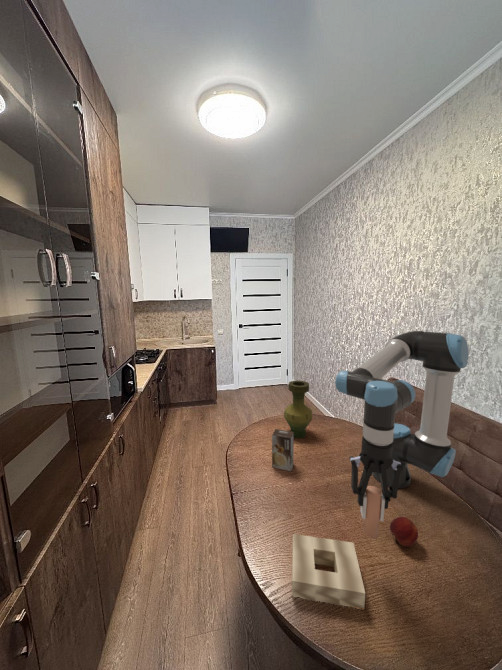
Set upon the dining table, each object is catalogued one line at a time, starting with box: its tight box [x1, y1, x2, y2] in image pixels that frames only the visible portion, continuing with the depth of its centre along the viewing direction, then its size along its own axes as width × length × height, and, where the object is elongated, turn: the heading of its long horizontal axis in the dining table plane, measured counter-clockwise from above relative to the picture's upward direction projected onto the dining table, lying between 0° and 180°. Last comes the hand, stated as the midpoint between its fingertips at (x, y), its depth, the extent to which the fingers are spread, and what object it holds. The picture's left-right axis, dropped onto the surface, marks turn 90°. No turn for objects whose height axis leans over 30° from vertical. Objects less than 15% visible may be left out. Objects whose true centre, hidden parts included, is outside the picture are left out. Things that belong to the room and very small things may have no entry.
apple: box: [389, 516, 419, 547], centre depth 85 cm, size 7×8×8 cm
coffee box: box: [271, 428, 295, 472], centre depth 124 cm, size 9×6×16 cm
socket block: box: [291, 533, 366, 609], centre depth 75 cm, size 18×14×5 cm
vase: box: [283, 380, 313, 439], centre depth 151 cm, size 16×16×30 cm
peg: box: [362, 485, 382, 539], centre depth 75 cm, size 4×4×13 cm
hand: (371, 516), depth 75 cm, fingers closed on peg, 4 cm apart
